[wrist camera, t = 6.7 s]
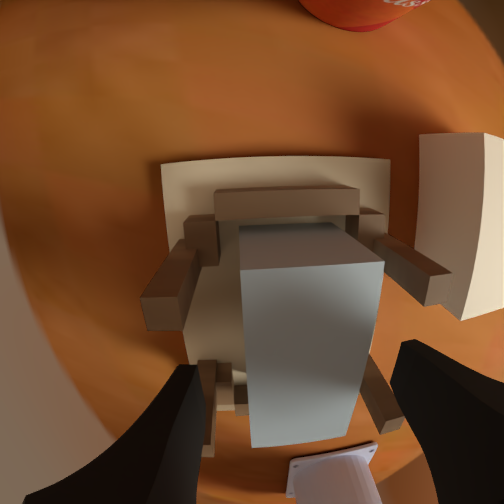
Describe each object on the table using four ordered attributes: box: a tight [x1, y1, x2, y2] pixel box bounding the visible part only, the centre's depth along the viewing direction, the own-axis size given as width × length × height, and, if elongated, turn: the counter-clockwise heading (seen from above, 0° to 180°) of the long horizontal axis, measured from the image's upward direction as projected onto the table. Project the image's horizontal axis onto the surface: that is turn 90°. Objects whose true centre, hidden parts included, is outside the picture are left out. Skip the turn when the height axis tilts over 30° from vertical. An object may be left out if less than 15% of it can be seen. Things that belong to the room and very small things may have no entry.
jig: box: [140, 156, 453, 457], centre depth 11 cm, size 14×10×6 cm
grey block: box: [239, 222, 385, 448], centre depth 11 cm, size 8×4×5 cm, turn 2°
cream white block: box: [414, 133, 504, 321], centre depth 11 cm, size 8×4×5 cm, turn 2°
